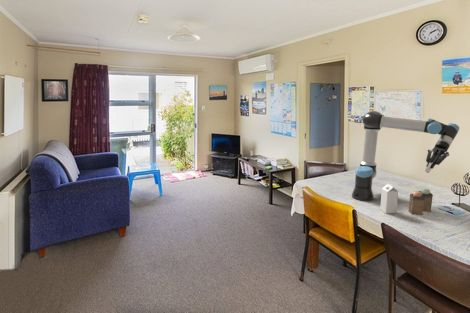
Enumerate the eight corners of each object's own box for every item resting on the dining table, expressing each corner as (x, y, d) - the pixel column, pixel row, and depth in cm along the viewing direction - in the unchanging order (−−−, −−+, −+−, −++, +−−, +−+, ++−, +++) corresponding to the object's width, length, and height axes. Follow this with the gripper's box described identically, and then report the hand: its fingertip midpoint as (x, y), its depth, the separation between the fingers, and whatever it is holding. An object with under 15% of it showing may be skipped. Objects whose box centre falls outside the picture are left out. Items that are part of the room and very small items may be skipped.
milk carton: (390, 209, 197) (392, 182, 193) (396, 213, 190) (398, 185, 186) (380, 209, 197) (382, 182, 193) (385, 213, 190) (388, 185, 186)
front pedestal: (408, 210, 194) (410, 193, 192) (419, 211, 192) (421, 194, 190) (411, 214, 188) (413, 196, 186) (422, 215, 186) (424, 197, 184)
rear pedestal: (416, 207, 199) (418, 191, 197) (427, 208, 197) (429, 191, 195) (419, 211, 193) (421, 194, 190) (430, 212, 191) (432, 194, 189)
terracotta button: (411, 196, 191) (412, 191, 190) (419, 197, 190) (420, 191, 189) (414, 199, 187) (414, 193, 186) (422, 199, 185) (422, 193, 185)
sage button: (420, 194, 196) (420, 188, 195) (427, 194, 195) (428, 189, 194) (422, 196, 191) (423, 190, 191) (430, 196, 190) (431, 191, 190)
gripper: (456, 148, 189) (439, 177, 185) (434, 146, 200) (418, 172, 196) (452, 141, 186) (435, 170, 181) (431, 139, 197) (414, 166, 192)
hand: (427, 171), depth 189 cm, fingers closed
